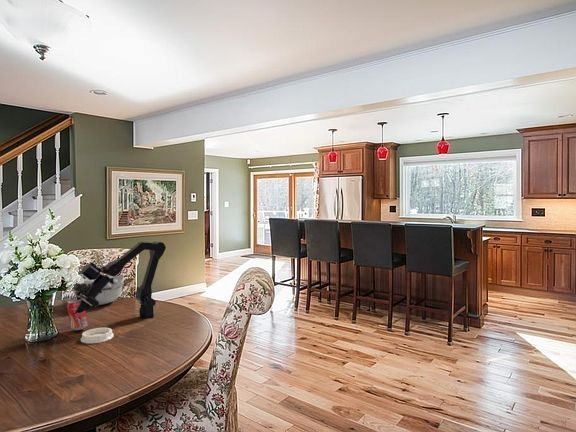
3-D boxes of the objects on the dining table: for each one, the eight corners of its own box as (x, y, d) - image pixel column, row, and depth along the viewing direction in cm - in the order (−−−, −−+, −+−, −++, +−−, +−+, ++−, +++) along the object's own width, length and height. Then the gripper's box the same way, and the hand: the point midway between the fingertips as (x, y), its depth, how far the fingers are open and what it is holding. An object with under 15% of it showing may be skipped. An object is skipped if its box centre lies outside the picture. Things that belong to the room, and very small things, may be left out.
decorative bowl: (72, 300, 243) (71, 275, 242) (125, 295, 253) (124, 272, 253) (63, 313, 215) (62, 285, 214) (123, 307, 225) (123, 281, 224)
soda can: (91, 324, 189) (87, 297, 189) (81, 330, 182) (76, 302, 182) (78, 326, 191) (74, 299, 190) (67, 331, 184) (63, 303, 183)
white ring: (115, 332, 184) (115, 326, 184) (111, 341, 172) (111, 335, 172) (84, 334, 181) (84, 328, 181) (77, 344, 168) (77, 338, 168)
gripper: (78, 273, 194) (53, 300, 187) (90, 278, 180) (64, 308, 174) (96, 286, 200) (73, 313, 193) (109, 293, 186) (84, 321, 179)
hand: (73, 313), depth 185 cm, fingers closed on soda can, 4 cm apart
